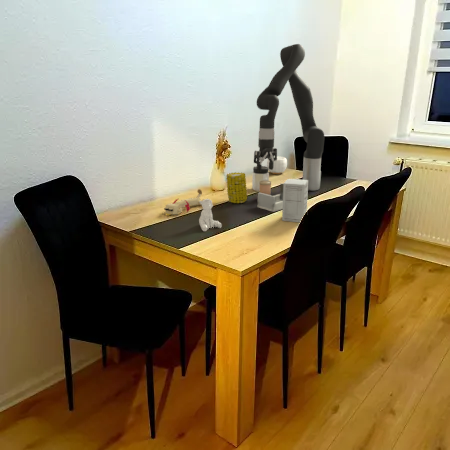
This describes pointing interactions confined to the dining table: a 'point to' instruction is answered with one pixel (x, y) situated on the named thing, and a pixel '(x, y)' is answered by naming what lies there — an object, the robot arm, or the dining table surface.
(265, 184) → the jar small
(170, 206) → the cat figure
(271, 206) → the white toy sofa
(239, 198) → the yellow woven basket
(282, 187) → the pusher
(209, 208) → the seated beast figurine
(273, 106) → the robot arm
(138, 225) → the dining table surface
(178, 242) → the dining table surface
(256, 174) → the jar
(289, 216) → the supplement box
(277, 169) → the cup
